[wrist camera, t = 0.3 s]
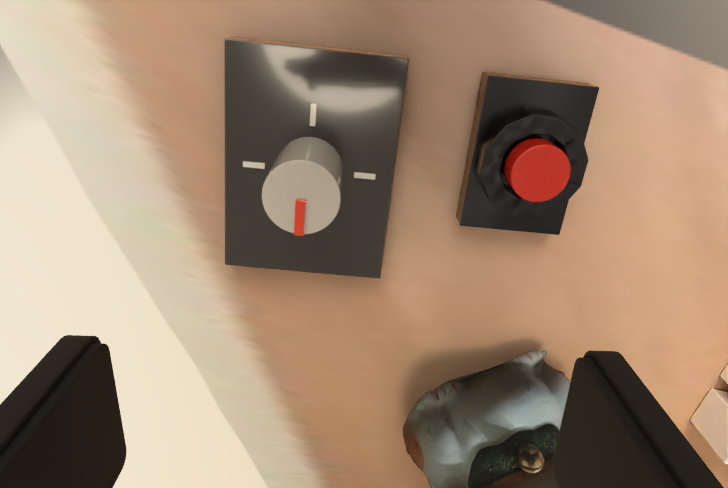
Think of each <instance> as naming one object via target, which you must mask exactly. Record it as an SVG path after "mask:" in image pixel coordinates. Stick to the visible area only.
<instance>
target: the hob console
mask: <svg viewBox="0 0 728 488" xmlns="http://www.w3.org/2000/svg"><path fill="white" fill-rule="evenodd" d="M408 62H409V59H408V58H407V56H405V55H397V54H387V53H378V52H369V51H360V50H351V49H341V48H332V47H323V46H314V45H305V44H295V43H286V42H277V41H268V40H259V39H249V38H240V37H230V38H226V39H225V264H226V265H234V266H245V267H256V268H267V269H279V270H290V271H301V272H313V273H324V274H335V275H346V276H358V277H369V278H380V277H381V269H382V262H383V254H384V246H385V239H386V231H387V223H388V216H389V208H390V200H391V192H392V185H393V177H394V169H395V162H396V154H397V146H398V139H399V131H400V123H401V116H402V108H403V100H404V93H405V85H406V77H407V70H408ZM302 137H315V138H319V139H322V140H324V141H326V142H327V143H329V144H330V145H331V146H333V147H334V149H335V150H336V151H337V152H338V154H339V156H340V158H341V160H342V164H343V182H342V192H341V202H340V207H339V211H338V213H337V215H336V217H335V218H334V220H333V221H332V222H331V223H330V224H329V225H328V226H327V227H325V228H324V229H322V230H320V231H318V232H315V233H311V234H304V236H297V235H294V233H291V232H288V231H285V230H283V229H282V228H280V227H279V226H277V225H276V224H275V223H274V222H273V221H272V220H271V219H270V218H269V216H268V215H267V213H266V211H265V209H264V206H263V202H262V188H263V184H264V182H265V180H266V178H267V176H268V174H269V172H270V170H271V168H272V166H273V165H274V163H275V161H276V159H277V157H278V155H279V153H280V152H281V150H282V149H283V148H284V147H285V146H286V145H287V144H288V143H289V142H291V141H293V140H295V139H298V138H302Z"/></svg>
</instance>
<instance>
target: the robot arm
mask: <svg viewBox="0 0 728 488" xmlns="http://www.w3.org/2000/svg"><path fill="white" fill-rule="evenodd" d="M125 458H126V445H125V439H124V433H123V427H122V421H121V415H120V409H119V404H118V398H117V392H116V386H115V380H114V375H113V369H112V363H111V357H110V351H109V348H108V346H107V345H106V344H101V342H100V340H99V339H98V337H96V336H72V335H68V336H64V337H63V338H61V339H60V340H59V341H58V342H57V344H56V345H55V346H54V347H53V348H52V349H51V350H50V351H49V352H48V353H47V354H46V355H45V357H44V358H43V359H42V360H41V361H40V362H39V363H38V364H37V365H36V367H35V368H34V369H33V370H32V371H31V372H30V373H29V374H28V375H27V376H26V378H25V379H24V380H23V381H22V382H21V383H20V384H19V385H18V386H17V387H16V388H15V389H14V390H13V391H12V393H11V394H10V395H9V396H8V397H7V398H6V399H5V400H4V401H3V402H2V403H1V405H0V488H112V487H113V486H114V484H115V482H116V480H117V478H118V476H119V474H120V472H121V470H122V468H123V466H124V463H125ZM553 473H554V477H555V480H556V482H557V485H558V487H559V488H723V486H722V485H721V484H720V482H719V481H718V480H717V479H716V477H715V476H714V475H713V473H712V472H711V471H710V469H709V468H708V467H707V466H706V464H705V463H704V462H703V460H702V459H701V458H700V456H699V455H698V454H697V453H696V451H695V450H694V449H693V447H692V446H691V445H690V443H689V442H688V441H687V440H686V438H685V437H684V436H683V434H682V433H681V432H680V430H679V429H678V428H677V426H676V425H675V424H674V423H673V421H672V420H671V419H670V417H669V416H668V415H667V413H666V412H665V411H664V410H663V408H662V407H661V406H660V404H659V403H658V402H657V400H656V399H655V398H654V397H653V395H652V394H651V393H650V391H649V390H648V389H647V387H646V386H645V385H644V384H643V382H642V381H641V380H640V378H639V377H638V376H637V374H636V373H635V372H634V371H633V369H632V368H631V367H630V365H629V364H628V363H627V361H626V360H625V359H624V357H623V356H622V355H621V354H620V353H619V352H615V351H588V352H586V354H585V355H584V358H578V359H577V360H576V362H575V365H574V370H573V374H572V378H571V383H570V387H569V391H568V395H567V400H566V404H565V408H564V413H563V417H562V421H561V426H560V430H559V434H558V439H557V443H556V447H555V452H554V456H553Z"/></svg>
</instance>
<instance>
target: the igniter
mask: <svg viewBox="0 0 728 488" xmlns="http://www.w3.org/2000/svg"><path fill="white" fill-rule="evenodd" d="M598 90H599V87H597V86H594V85H591V84H588V83H579V82H569V81H560V80H551V79H542V78H532V77H523V76H514V75H505V74H495V73H486V72H483V74H482V80H481V85H480V91H479V96H478V101H477V107H476V112H475V118H474V123H473V128H472V134H471V139H470V145H469V150H468V155H467V161H466V166H465V172H464V177H463V182H462V188H461V193H460V199H459V204H458V209H457V215H456V217H457V219H458V222H459V224H460V225H461V226H471V227H482V228H493V229H503V230H514V231H525V232H535V233H546V234H556V235H559V233H560V230H561V226H562V222H563V219H564V215H565V211H566V208H567V204H568V200H569V198H570V197H571V196H572V195H573V194H574V193H575V192H576V191H577V190H578V189H579V188H580V186H581V184H582V180H583V177H584V173H585V170H586V166H587V163H588V157H587V153H586V150H585V146H584V142H585V138H586V134H587V131H588V127H589V123H590V120H591V116H592V112H593V109H594V105H595V101H596V98H597V94H598ZM533 138H540V139H545V140H548V141H550V142H551V143H553V144H554V145H555V146H557V147H558V148H559V149H561V150H562V151H563V152H564V153H565V154H566V155H567V157H568V159H569V162H570V168H571V171H570V177H569V180H568V182H567V184H566V186H565V188H564V189H563V190H562V191H561V192H560V193H559V194H558V195H557V196H555V197H553V198H552V199H549V200H547V201H543V202H530V201H527V200H524V199H522V198H521V197H520V196H518V195H517V194H516V192H515V191H514V190H513V189H512V188H511V186H510V185H509V184H508V182H507V180H506V178H505V174H504V165H505V161H506V158H507V156H508V155H509V153H510V152H511V150H512V149H513V148H514V147H515V146H516V145H518V144H519V143H521V142H523V141H525V140H528V139H533Z"/></svg>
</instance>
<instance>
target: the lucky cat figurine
mask: <svg viewBox="0 0 728 488" xmlns="http://www.w3.org/2000/svg"><path fill="white" fill-rule="evenodd" d="M546 353H547V351H546V350H545V351H532V352H526V353H524V354H523V355H521V356H518V357H516V358H514V359H512V360H510V361H508V362H506V363H504V364H501V365H498V366H496V367H493V368H490V369H487V370H483V371H480V372H477V373H473V374H470V375H466V376H463V377H460V378H456V379H453V380H450V381H448V382H447V383H444V384H442V385H440V386H439V387H437V388H435V389H434V390H432V391H429V392H426V394H425V395H424V396H423V397H422V398H420V399H419V400H418V401H417V402H416V404H415V406H414V407H413V409H412V410H411V412H410V414H409V415H408V417H407V419H406V421H405V424H404V426H403V437H404V441H405V445H406V450H407V452H408V454H409V455H411V458H412V460H413V461H414V462H415V464H416V465H417V466H418V467H419V468H420V469H421V470H422V471H423V472H424V474H425V475H426V477H427V479H428V481H429V484H430V487H431V488H559V487H558V485H557V482H556V480H555V477H554V473H553V456H554V452H555V447H556V443H557V439H558V434H559V430H560V426H561V421H562V417H563V413H564V408H565V404H566V400H567V395H568V391H569V387H570V382H569V380H568V379H567V378H566V377H565V374H564V373H563V372H561V371H558V370H555V369H554V368H552V367H550V366H549V365H547V364H546V363H545V361H544V360H543V357H544V356H545V354H546Z"/></svg>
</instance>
